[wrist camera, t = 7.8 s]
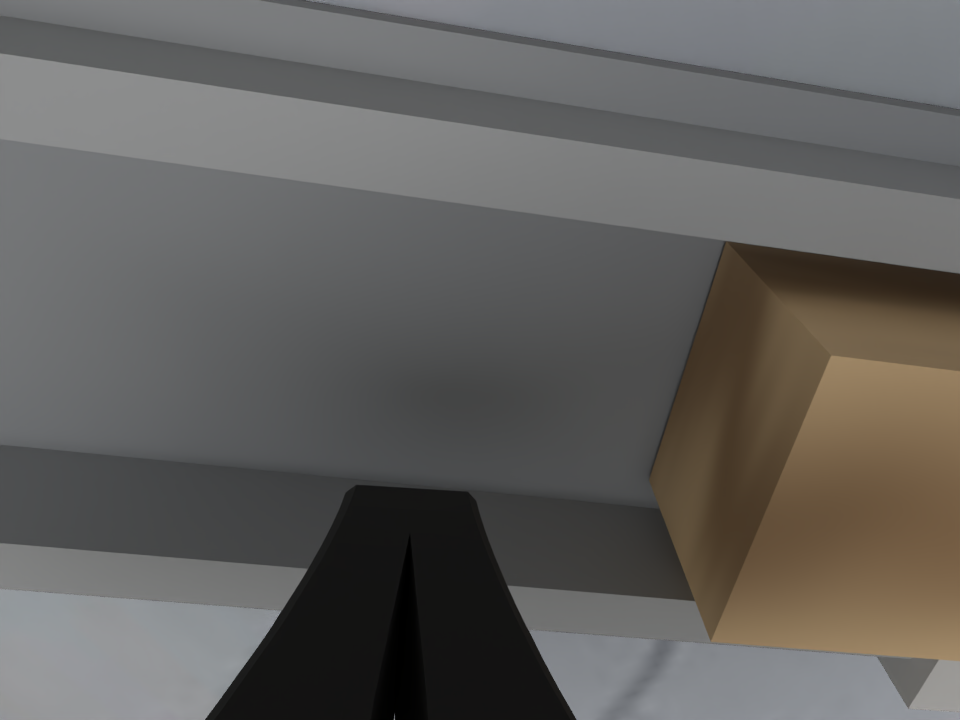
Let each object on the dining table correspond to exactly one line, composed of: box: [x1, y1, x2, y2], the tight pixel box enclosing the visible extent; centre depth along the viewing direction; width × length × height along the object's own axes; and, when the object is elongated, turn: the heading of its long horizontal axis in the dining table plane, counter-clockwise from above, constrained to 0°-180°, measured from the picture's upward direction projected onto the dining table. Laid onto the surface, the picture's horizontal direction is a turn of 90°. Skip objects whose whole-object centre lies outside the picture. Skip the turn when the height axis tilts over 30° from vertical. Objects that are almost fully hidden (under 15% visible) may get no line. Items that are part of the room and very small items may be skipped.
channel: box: [0, 0, 960, 712], centre depth 13 cm, size 10×24×4 cm, turn 81°
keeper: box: [649, 241, 960, 661], centre depth 13 cm, size 5×5×4 cm
